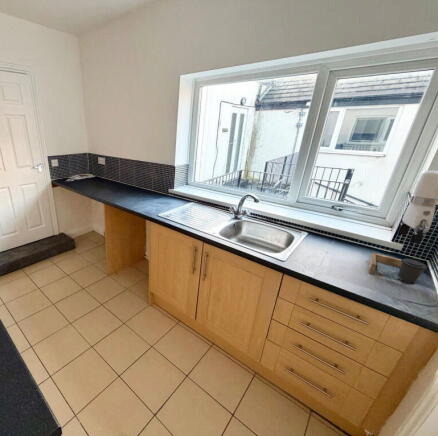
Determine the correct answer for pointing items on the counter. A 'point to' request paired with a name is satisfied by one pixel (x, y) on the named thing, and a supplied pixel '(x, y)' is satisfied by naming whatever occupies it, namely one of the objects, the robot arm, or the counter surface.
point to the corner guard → (381, 258)
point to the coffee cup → (410, 270)
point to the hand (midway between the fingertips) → (407, 238)
